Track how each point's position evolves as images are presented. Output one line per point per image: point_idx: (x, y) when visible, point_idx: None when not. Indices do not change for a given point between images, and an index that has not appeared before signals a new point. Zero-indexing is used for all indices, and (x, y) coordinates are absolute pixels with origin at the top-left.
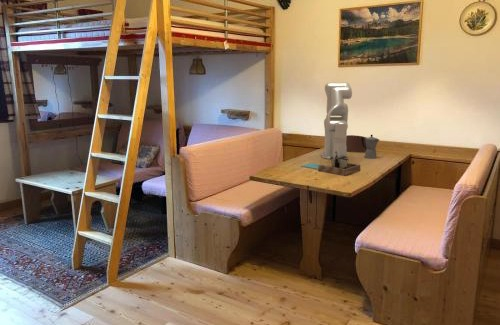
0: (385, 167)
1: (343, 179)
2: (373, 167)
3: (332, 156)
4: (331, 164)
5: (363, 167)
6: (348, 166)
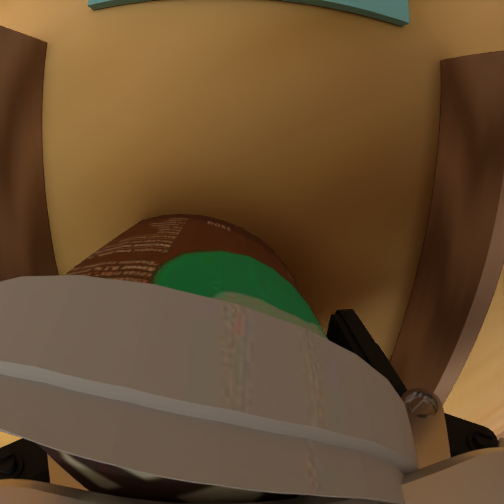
0: (500, 426)
1: (17, 437)
2: (499, 399)
3: (67, 428)
4: (89, 257)
5: (496, 366)
6: (417, 354)
